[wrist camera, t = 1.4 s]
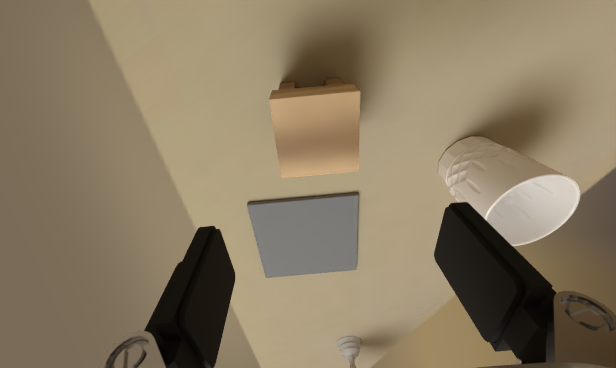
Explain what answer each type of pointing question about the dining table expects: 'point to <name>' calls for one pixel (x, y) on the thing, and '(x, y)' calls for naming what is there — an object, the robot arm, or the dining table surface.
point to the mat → (306, 234)
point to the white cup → (508, 189)
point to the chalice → (349, 348)
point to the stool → (316, 128)
